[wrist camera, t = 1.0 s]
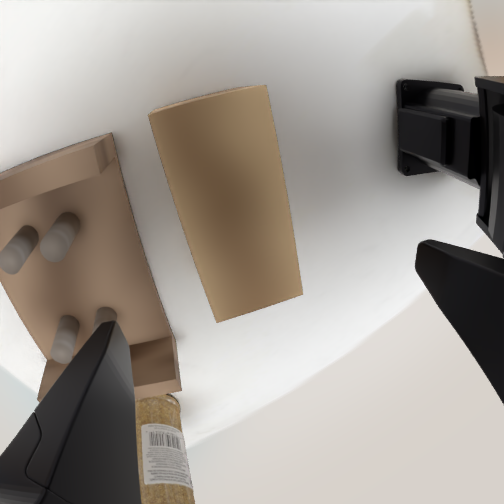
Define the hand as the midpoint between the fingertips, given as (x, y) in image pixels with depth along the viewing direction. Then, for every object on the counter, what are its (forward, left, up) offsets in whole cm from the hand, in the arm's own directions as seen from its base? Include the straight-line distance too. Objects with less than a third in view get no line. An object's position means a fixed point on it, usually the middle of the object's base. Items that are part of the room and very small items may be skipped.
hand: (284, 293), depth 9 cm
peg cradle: (+10, +3, -10) cm, 15 cm away
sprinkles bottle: (+9, +17, -11) cm, 22 cm away
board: (0, 0, -11) cm, 11 cm away
